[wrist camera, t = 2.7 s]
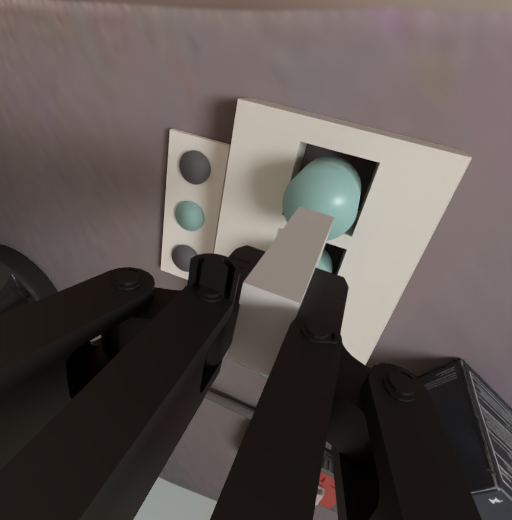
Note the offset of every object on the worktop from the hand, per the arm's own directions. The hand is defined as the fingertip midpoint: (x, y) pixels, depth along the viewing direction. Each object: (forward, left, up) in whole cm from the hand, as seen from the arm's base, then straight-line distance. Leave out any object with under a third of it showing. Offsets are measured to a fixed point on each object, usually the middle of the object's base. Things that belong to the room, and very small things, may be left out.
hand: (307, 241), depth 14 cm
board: (0, -6, -12) cm, 13 cm away
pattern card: (-11, -6, -12) cm, 17 cm away
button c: (0, 0, -9) cm, 9 cm away
